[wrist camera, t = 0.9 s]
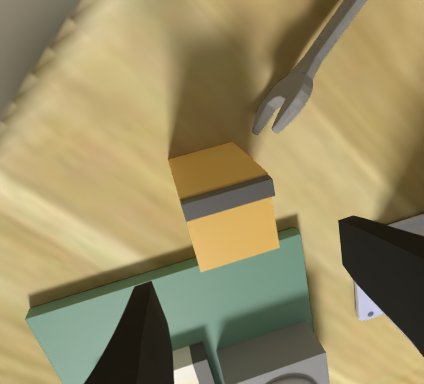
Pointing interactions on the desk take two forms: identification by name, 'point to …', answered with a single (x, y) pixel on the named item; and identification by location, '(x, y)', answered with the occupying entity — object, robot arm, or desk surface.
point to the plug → (225, 204)
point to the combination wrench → (304, 73)
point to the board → (201, 321)
